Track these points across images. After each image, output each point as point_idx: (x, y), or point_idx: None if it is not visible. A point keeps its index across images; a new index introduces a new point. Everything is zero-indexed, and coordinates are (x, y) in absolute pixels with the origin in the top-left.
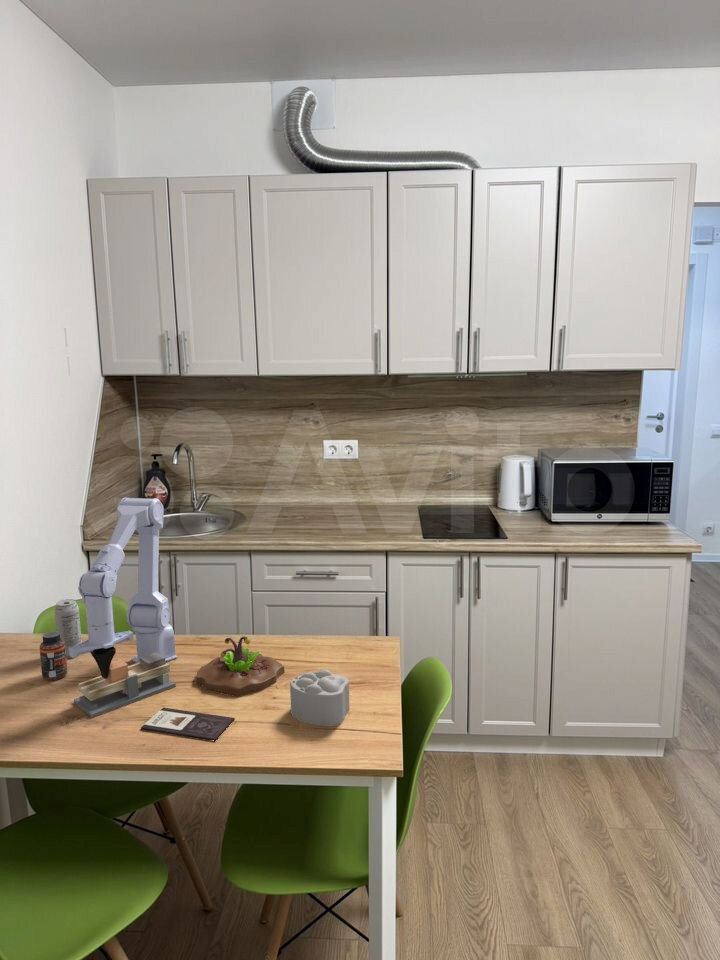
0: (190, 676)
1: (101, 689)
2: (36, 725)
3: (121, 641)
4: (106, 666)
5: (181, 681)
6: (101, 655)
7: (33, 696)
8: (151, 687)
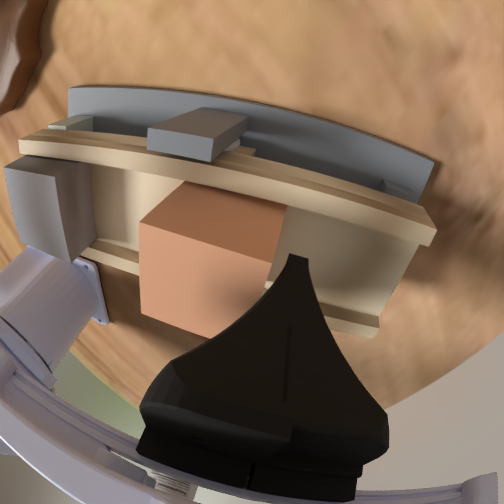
0: (31, 116)
1: (376, 207)
2: (501, 284)
3: (58, 406)
4: (294, 308)
5: (54, 106)
6: (368, 431)
7: (370, 385)
8: (131, 128)
